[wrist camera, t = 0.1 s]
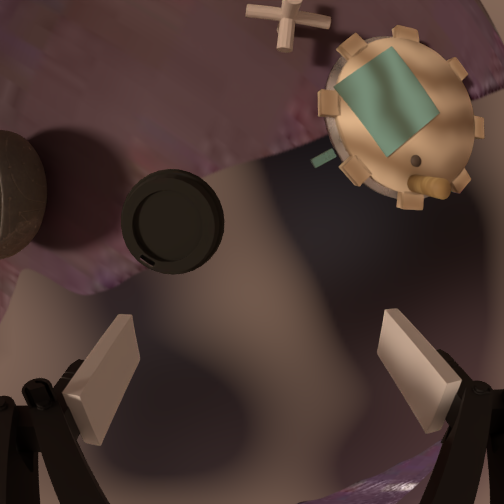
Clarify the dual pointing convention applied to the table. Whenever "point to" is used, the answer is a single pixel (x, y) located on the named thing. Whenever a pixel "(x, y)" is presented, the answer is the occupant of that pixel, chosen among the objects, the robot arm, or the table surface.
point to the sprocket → (403, 117)
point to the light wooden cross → (287, 20)
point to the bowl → (20, 193)
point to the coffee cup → (172, 221)
